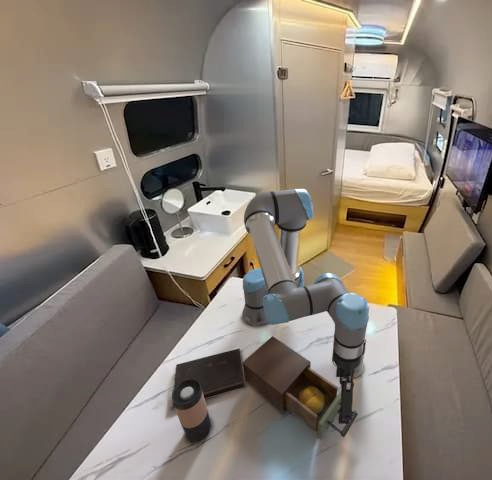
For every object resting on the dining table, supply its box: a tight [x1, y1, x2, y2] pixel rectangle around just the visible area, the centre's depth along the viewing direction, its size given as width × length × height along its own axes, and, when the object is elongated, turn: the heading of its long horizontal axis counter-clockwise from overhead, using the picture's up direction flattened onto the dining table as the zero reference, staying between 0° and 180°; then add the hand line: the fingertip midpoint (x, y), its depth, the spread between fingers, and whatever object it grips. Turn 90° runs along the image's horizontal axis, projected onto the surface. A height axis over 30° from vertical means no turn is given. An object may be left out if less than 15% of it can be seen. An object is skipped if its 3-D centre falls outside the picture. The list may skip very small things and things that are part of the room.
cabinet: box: [241, 335, 312, 413], centre depth 99 cm, size 19×15×10 cm
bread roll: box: [298, 386, 325, 414], centre depth 91 cm, size 8×9×4 cm
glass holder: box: [331, 342, 367, 378], centre depth 102 cm, size 9×14×15 cm, turn 121°
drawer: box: [284, 367, 359, 441], centre depth 89 cm, size 24×14×8 cm, turn 54°
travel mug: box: [171, 379, 212, 443], centre depth 81 cm, size 8×8×20 cm
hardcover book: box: [172, 348, 246, 409], centre depth 100 cm, size 16×23×2 cm
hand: (341, 397), depth 80 cm, fingers open, 13 cm apart
